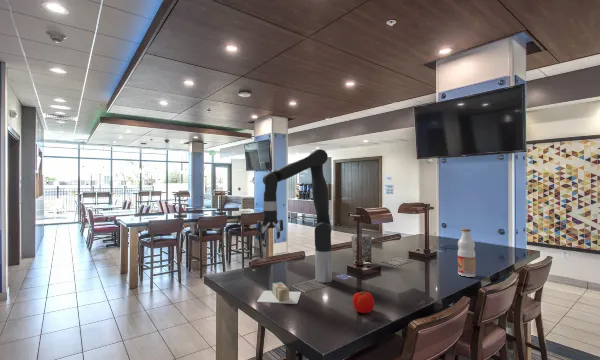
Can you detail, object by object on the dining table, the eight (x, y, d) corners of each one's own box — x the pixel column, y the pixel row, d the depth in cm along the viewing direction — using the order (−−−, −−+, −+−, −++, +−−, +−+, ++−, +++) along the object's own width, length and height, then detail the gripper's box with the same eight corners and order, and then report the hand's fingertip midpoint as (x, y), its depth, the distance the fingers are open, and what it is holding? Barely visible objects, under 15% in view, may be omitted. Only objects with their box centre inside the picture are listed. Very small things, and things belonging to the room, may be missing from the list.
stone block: (357, 266, 206) (357, 236, 206) (351, 264, 212) (350, 235, 212) (372, 264, 211) (372, 235, 212) (366, 261, 218) (366, 233, 218)
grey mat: (301, 292, 155) (301, 291, 155) (297, 303, 140) (297, 303, 140) (264, 291, 157) (264, 290, 157) (256, 302, 142) (256, 301, 142)
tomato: (371, 307, 136) (371, 288, 136) (377, 316, 126) (377, 296, 126) (350, 307, 136) (350, 288, 136) (355, 317, 126) (355, 296, 126)
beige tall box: (279, 290, 142) (271, 283, 153) (279, 301, 142) (271, 293, 153) (289, 289, 144) (281, 281, 155) (289, 299, 144) (281, 291, 155)
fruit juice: (471, 279, 176) (471, 230, 177) (455, 275, 183) (454, 229, 184) (478, 276, 182) (477, 229, 183) (462, 272, 189) (461, 227, 190)
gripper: (280, 208, 174) (280, 237, 173) (255, 209, 168) (256, 239, 168) (284, 209, 167) (284, 239, 166) (259, 210, 161) (259, 241, 161)
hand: (270, 239), depth 167 cm, fingers open, 8 cm apart
